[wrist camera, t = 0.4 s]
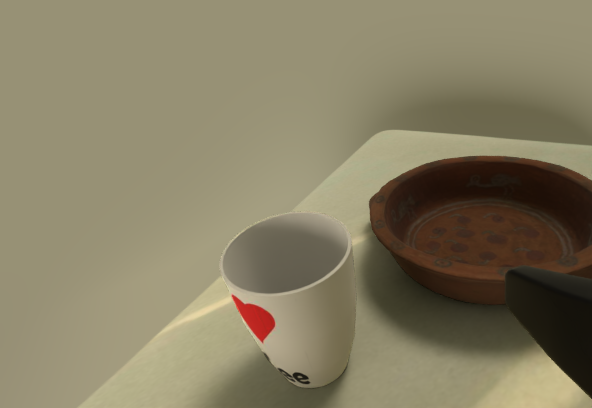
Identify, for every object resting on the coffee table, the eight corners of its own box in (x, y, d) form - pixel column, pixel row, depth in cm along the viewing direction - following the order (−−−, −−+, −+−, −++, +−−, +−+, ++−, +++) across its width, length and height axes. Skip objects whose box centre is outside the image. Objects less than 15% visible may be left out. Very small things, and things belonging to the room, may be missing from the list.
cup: (247, 342, 33) (207, 240, 28) (339, 300, 35) (317, 197, 30) (282, 431, 27) (238, 318, 21) (394, 373, 28) (377, 257, 23)
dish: (622, 390, 24) (639, 330, 22) (319, 274, 38) (309, 229, 36) (660, 226, 35) (675, 172, 32) (411, 181, 49) (408, 141, 46)
